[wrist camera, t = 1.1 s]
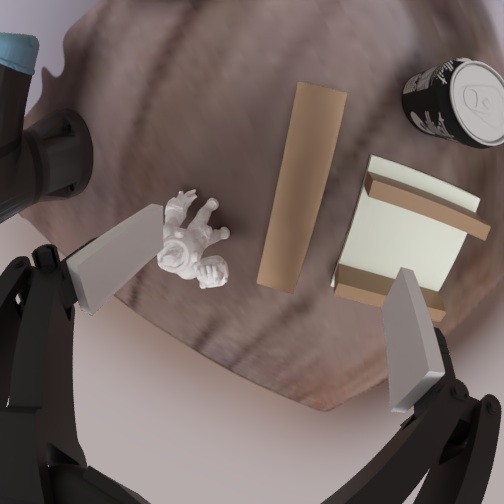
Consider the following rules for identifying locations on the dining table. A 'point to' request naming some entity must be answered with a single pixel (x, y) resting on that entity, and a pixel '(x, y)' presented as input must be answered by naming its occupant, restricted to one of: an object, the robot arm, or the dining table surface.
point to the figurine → (192, 242)
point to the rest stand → (404, 234)
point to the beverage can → (458, 103)
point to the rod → (301, 183)
